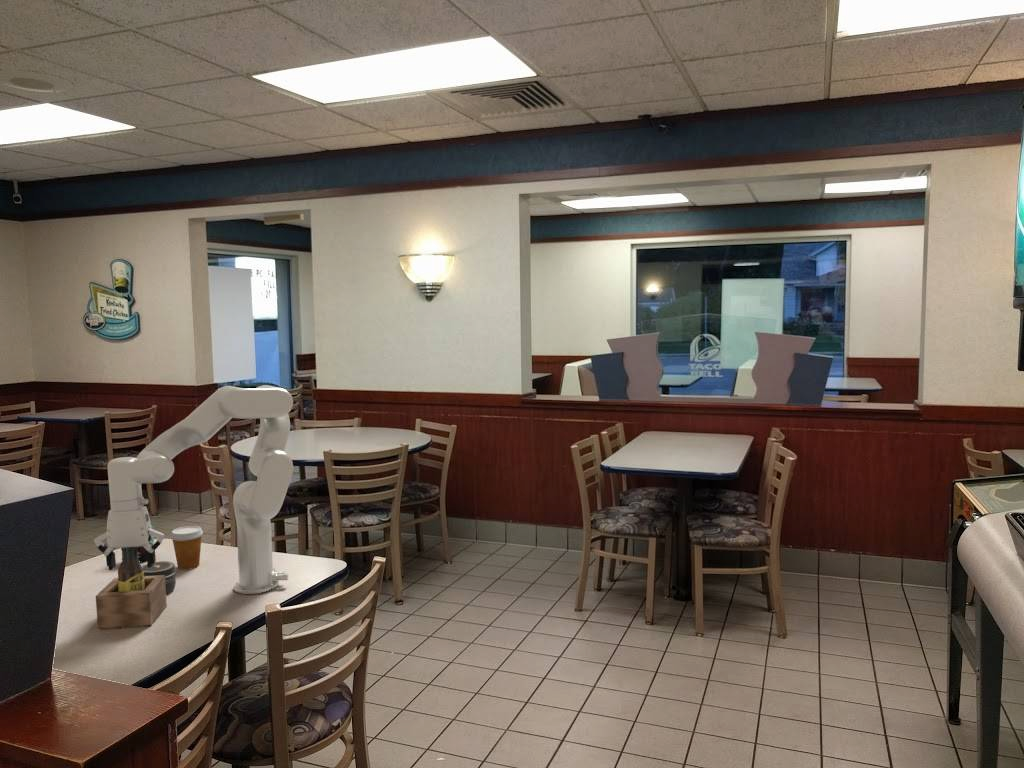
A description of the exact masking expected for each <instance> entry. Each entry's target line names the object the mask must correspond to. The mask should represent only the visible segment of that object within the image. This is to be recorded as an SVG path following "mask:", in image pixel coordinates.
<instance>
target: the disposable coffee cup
mask: <svg viewBox="0 0 1024 768" xmlns="http://www.w3.org/2000/svg"><path fill="white" fill-rule="evenodd" d="M203 533H204V531H203V529H202V527H201V526H198V525H188V526H186V525H185V526H180V527H177V528H174V529H173V530H172V531H171V534H170V538H171V541H172V543H173V549H174V554H175V558H176V564H177V569H179V570H182V569H187V570H191V569H190V568H193V569H195V568H194V567H196V568H197V566H198V565H199V566H200V561H201V560H200V559H201V548H202V536H203ZM199 566H198V567H199Z"/></svg>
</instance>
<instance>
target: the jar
mask: <svg viewBox="0 0 1024 768" xmlns="http://www.w3.org/2000/svg"><path fill="white" fill-rule="evenodd" d="M141 567H142V569H143V571H144V576H156V575H165V584H166V595H168V593H169V594H170V592H171V593H172V592H173V591H174V590H175V588H176V583H177V582H176V580H177V579H176V565H175V563H174V562H171V561H168V560H165V561H164V560H163V561H162V560H161V561H155V563H154V565H153V566H152V567H151V568H148V566H147V563H145V564H143V565H141Z"/></svg>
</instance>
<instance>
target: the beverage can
mask: <svg viewBox="0 0 1024 768" xmlns="http://www.w3.org/2000/svg"><path fill="white" fill-rule="evenodd" d="M151 528H152V529H153V530H154V526H153V525H152V524H151ZM151 542H152V543H153V544H155V537H154V536H152V540H151ZM137 552H138V560H139V561H144V562H147V561H146V560H147V553H148V551H147V550H146V549H145V548H144V547H143V546H142V547H138V549H137Z"/></svg>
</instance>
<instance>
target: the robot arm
mask: <svg viewBox="0 0 1024 768" xmlns="http://www.w3.org/2000/svg"><path fill="white" fill-rule="evenodd" d="M293 399H294V398H293V396H292V394H291V393H290V392H289V391H288V390H286V389H284V388H281V387H278V386H274V385H273V386H272V385H268V384H264V385H260V386H259V385H258V386H257V387H256V388H243V387H237V386H233V385H224V386H222V387H219V388H218V389H216V390H215V392H213V393H212V394H211V395H210V396H209V397H208V398H207V399H205V400H204V401H203V402H202V403H201V404H199V406H198V407H196V408H195V409H194V410H193V411H191V413H190V414H189V415H187V416H186V417H185V418H184V419H182V420H181V421H179V422H177V423H176V424H174V425H173V426H171V427H170V428H169V429H167V430H165V431H164V432H162V433H161V434H159V435H158V436H157V437H156V438H155V439H153V440H152V441H151V442H150V443H149V444H148V445H147V446H145V448H143V449H142V450H141V451H140V452H139V453H138V454H137V456H136V457H133V456H123V457H116V458H113V459H111V460H109V462H108V463H107V477H108V489H109V498H110V499H109V501H110V503H109V504H110V510H108V514H107V520H106V521H107V522H106V532H105V533H102V534H101V535H99V536H97V537H95V538H94V539H93V542H94V544H95V545H96V547H97V549H98V550H99V551H100V552H101V553H103V555H104V556H105V559H106V560H105V561H106V566H107V567H108V571H112V570H113V569H115V567H117V562H116V561H117V560H116V552H115V551H114V550H115V549H121V548H130V547H142V546H143V547H144V548H145V549H146V550H147V551H148V553H147V561H146V562H147V563H146V564H147V566H148V568H151V567H152V566H153V565H154V563H155V562H157V559H156V550H157V548H158V547H159V546H160V545H162V542H163V540H164V538H165V536H166V535H165V534H164V533H162V532H160V531H157V530H155V529H154V528H153V529H152V528H151V525H152V523H151V519H150V515H149V511H148V508H147V506H144V505H148V504H149V499H148V498H144V496H143V490H142V484H161V483H163V482H166V481H168V480H170V478H171V477H172V476H173V474H174V473H175V465H174V462H173V461H172V460H174V458H175V457H176V456H177V455H179V454H180V453H181V452H183V451H185V450H187V449H189V448H191V447H194V446H198V445H201V444H204V443H206V442H207V441H209V440H210V439H211V438H213V436H214V435H216V433H218V432H219V431H220V430H221V429H222V428H224V426H226V424H228V422H229V421H231V420H232V419H245V420H246V419H252V420H253V419H255V420H257V419H259V420H260V422H259V423H260V426H259V431H258V434H257V438H256V440H255V443H254V447H253V449H252V453H250V454H251V455H250V457H249V460H248V470H249V471H250V473H252V475H254V476H255V477H257V479H256V481H255V480H248V481H244V482H242V483H241V484H239V485H238V486H237V487H236V489H235V491H234V493H233V497H232V498H233V499H232V504H233V511H234V517H235V522H236V539H237V541H236V542H237V561H238V563H237V565H238V581H236V582H235V583H234V585H233V591H234V592H236V593H239V594H242V595H256V594H257V595H258V594H262V592H263V593H267V592H269V590H270V591H272V590H274V589H276V588H277V587H278V586H279V585H280V584H279V583H280V581H288V580H289V573H286V571H280V572H278V571H276V567H274V566H273V543H272V522H271V520H272V519H273V518H275V517H276V516H277V515H278V514H279V512H280V510H281V509H282V507H283V504H284V502H285V501H284V500H285V498H286V495H287V492H288V488H289V486H290V483H291V481H292V477H293V471H294V464H293V460H292V458H291V456H290V455H289V454H288V453H287V452H285V450H286V447H287V443H288V441H289V436H290V432H291V431H290V430H291V421H290V416H289V413H290V412H291V410H292V409H293V405H294V400H293ZM152 536H154V538H156V541H155V542H154V544H153V543H152V542H151V540H152ZM105 539H106V544H107V545H106V544H105V543H104V542H103V541H104V540H105ZM271 589H272V590H271ZM266 591H267V592H266Z"/></svg>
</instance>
